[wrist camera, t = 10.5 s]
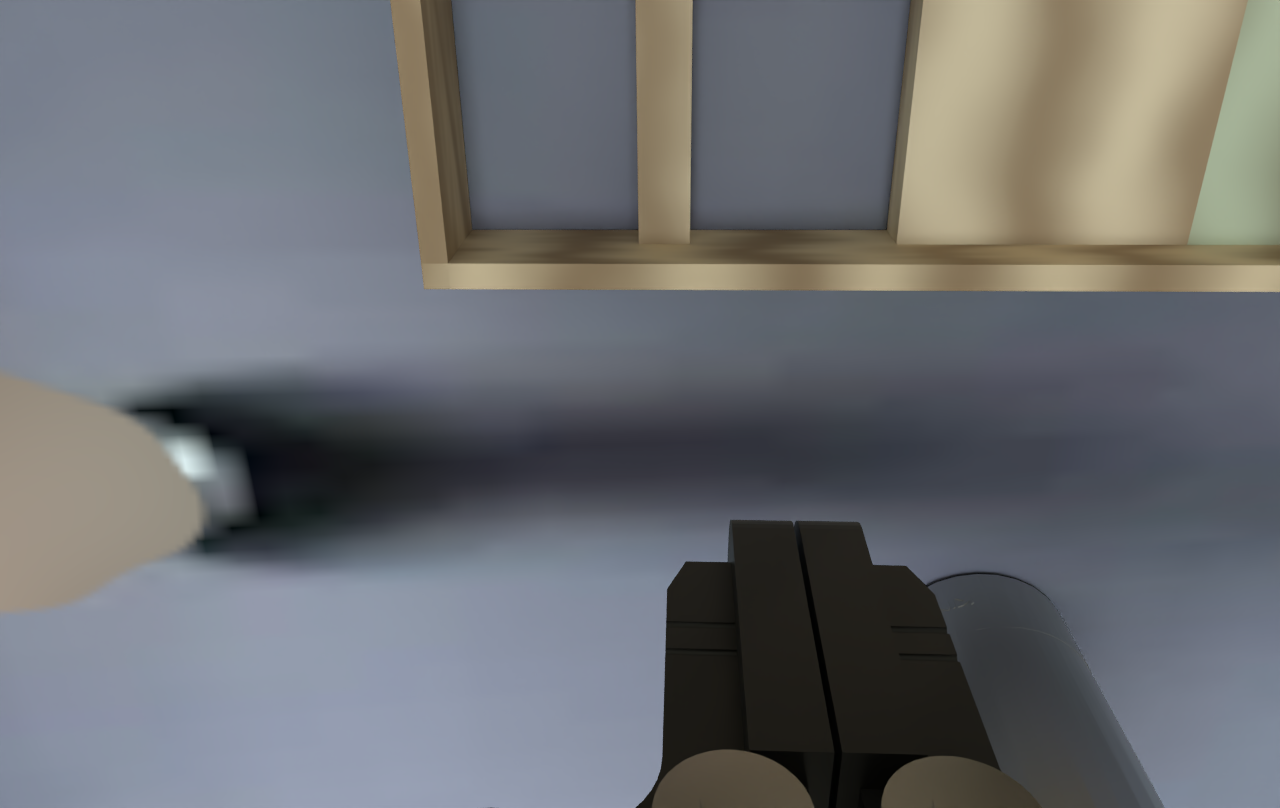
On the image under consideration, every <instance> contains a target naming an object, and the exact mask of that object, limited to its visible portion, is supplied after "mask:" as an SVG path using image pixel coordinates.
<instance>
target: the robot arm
mask: <svg viewBox="0 0 1280 808" xmlns="http://www.w3.org/2000/svg"><path fill="white" fill-rule="evenodd" d="M636 808H1165V807H1164V806H1163V804H1162V802H1161V800H1160V798H1159V796H1158V794H1157V793H1156V791H1155V789H1154V787H1153V785H1152V783H1151V782H1150V780H1149V778H1148V776H1147V774H1146V772H1145V771H1144V769H1143V767H1142V765H1141V763H1140V761H1139V760H1138V758H1137V756H1136V754H1135V752H1134V750H1133V749H1132V747H1131V745H1130V743H1129V741H1128V739H1127V738H1126V736H1125V734H1124V732H1123V730H1122V728H1121V727H1120V725H1119V723H1118V721H1117V719H1116V717H1115V716H1114V714H1113V712H1112V710H1111V708H1110V706H1109V705H1108V703H1107V701H1106V699H1105V697H1104V695H1103V694H1102V692H1101V690H1100V688H1099V686H1098V684H1097V683H1096V681H1095V679H1094V677H1093V675H1092V673H1091V671H1090V669H1089V667H1088V665H1087V663H1086V662H1085V660H1084V658H1083V656H1082V654H1081V652H1080V651H1079V649H1078V647H1077V645H1076V643H1075V641H1074V640H1073V638H1072V636H1071V634H1070V632H1069V630H1068V629H1067V627H1066V625H1065V623H1064V621H1063V619H1062V618H1061V616H1060V614H1059V612H1058V610H1057V609H1056V608H1055V606H1054V605H1053V604H1052V603H1051V601H1050V600H1049V599H1048V598H1047V597H1046V596H1045V595H1043V594H1042V593H1041V592H1039V591H1038V590H1037V589H1035V588H1034V587H1032V586H1030V585H1028V584H1026V583H1023V582H1021V581H1019V580H1017V579H1013V578H1008V577H1004V576H1000V575H987V574H973V575H965V576H956V577H953V578H950V579H946V580H943V581H939V582H936V583H934V584H932V585H930V586H928V587H927V586H926V585H925V584H924V583H923V582H922V581H921V580H920V579H919V578H918V577H917V576H916V575H915V574H914V573H913V572H912V571H911V570H910V569H909V568H908V567H907V566H889V565H873V564H872V561H871V558H870V554H869V551H868V547H867V544H866V541H865V537H864V534H863V530H862V527H861V525H860V523H859V522H830V521H796V522H795V525H794V526H793V522H792V521H765V520H730V526H729V543H728V562H685V564H684V565H683V567H682V568H681V570H680V571H679V573H678V574H677V575H676V577H675V578H674V580H673V581H672V583H671V584H670V586H669V587H668V589H667V618H666V655H665V688H664V723H663V757H662V765H661V770H660V773H659V776H658V779H657V781H656V783H655V785H654V787H653V788H652V790H651V792H650V793H649V794H648V795H647V797H646V798H645V799H644V800H643V801H642V802H641V803H640V804H639V805H638V806H637V807H636Z"/></svg>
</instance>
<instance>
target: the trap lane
mask: <svg viewBox="0 0 1280 808" xmlns="http://www.w3.org/2000/svg"><path fill="white" fill-rule="evenodd" d="M390 2H391V11H392V19H393V28H394V36H395V45H396V53H397V62H398V70H399V79H400V87H401V96H402V104H403V113H404V121H405V130H406V138H407V147H408V155H409V164H410V172H411V181H412V189H413V198H414V206H415V215H416V223H417V232H418V240H419V249H420V257H421V266H422V274H423V283H424V289H567V290H864V291H1161V292H1280V0H911V3H910V13H909V22H908V32H907V41H906V51H905V61H904V70H903V80H902V89H901V99H900V108H899V118H898V127H897V137H896V147H895V156H894V166H893V175H892V185H891V194H890V204H889V213H888V223H887V230H690V182H691V94H692V7H693V0H636V71H637V148H638V226H639V230H472V223H471V212H470V201H469V190H468V180H467V169H466V158H465V147H464V136H463V125H462V114H461V103H460V92H459V81H458V70H457V60H456V49H455V38H454V27H453V16H452V5H451V0H390Z"/></svg>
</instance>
